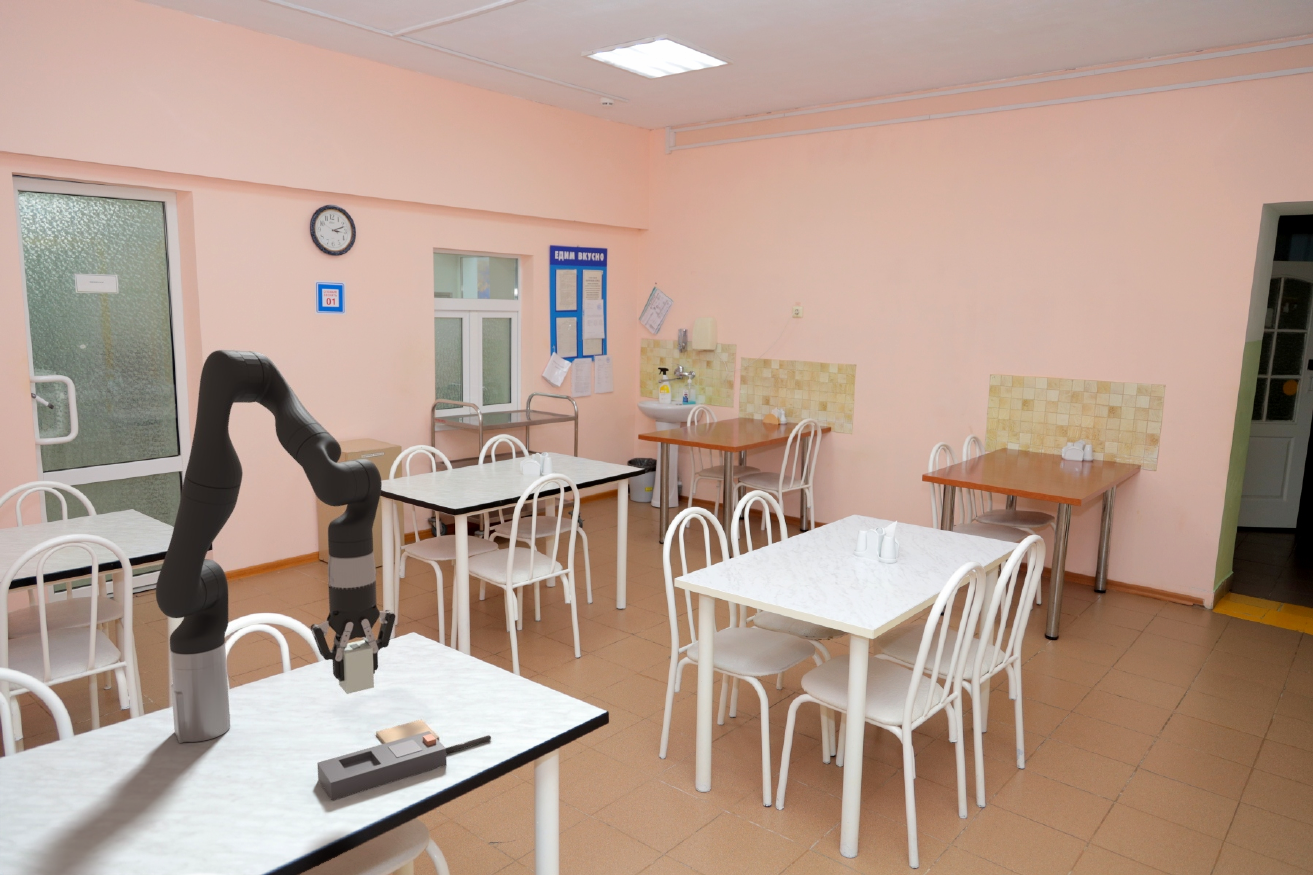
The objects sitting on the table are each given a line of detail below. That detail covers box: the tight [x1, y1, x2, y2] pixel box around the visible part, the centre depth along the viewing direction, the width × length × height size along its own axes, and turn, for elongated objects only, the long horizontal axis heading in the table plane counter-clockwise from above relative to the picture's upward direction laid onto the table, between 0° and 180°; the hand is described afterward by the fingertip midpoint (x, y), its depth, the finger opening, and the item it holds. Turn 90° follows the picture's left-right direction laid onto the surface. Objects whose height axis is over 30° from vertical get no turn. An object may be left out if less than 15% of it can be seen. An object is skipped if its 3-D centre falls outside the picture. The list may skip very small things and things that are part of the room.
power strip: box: [317, 731, 492, 802], centre depth 155 cm, size 30×8×4 cm, turn 126°
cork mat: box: [375, 719, 440, 744], centre depth 165 cm, size 9×9×1 cm
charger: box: [338, 639, 375, 695], centre depth 147 cm, size 4×4×7 cm
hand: (355, 675), depth 147 cm, fingers closed on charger, 4 cm apart
